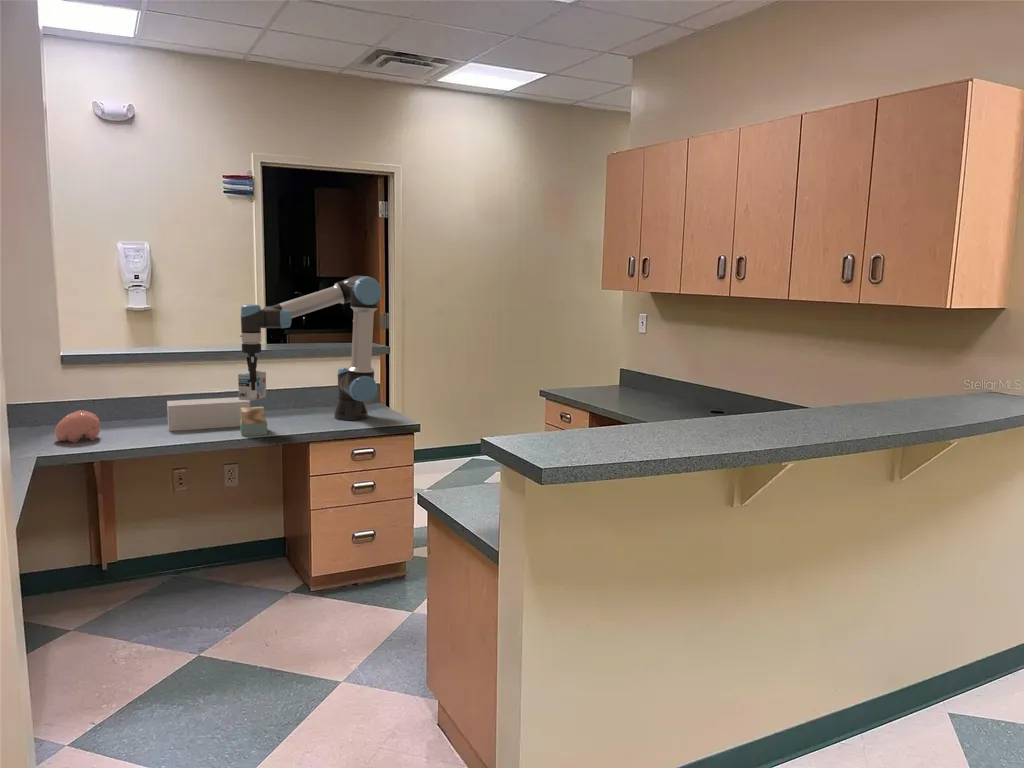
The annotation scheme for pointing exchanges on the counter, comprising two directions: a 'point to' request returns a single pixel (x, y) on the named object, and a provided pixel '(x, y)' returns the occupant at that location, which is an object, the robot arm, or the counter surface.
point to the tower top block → (252, 415)
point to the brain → (78, 426)
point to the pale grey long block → (205, 413)
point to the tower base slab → (253, 428)
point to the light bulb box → (245, 387)
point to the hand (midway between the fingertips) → (252, 395)
